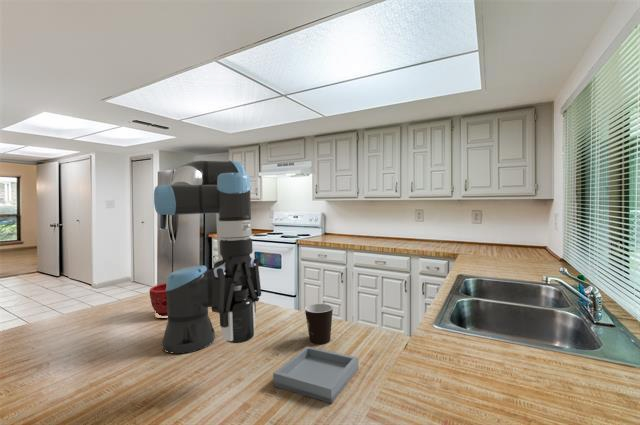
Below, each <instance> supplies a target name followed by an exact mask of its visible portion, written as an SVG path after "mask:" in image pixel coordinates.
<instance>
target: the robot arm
mask: <svg viewBox="0 0 640 425" xmlns="http://www.w3.org/2000/svg"><path fill="white" fill-rule="evenodd" d="M251 190H252V187H251V180H250V175H249V174H247V173H246V171H245V167H244V166H243V164H242V163H241V162H240V161H235V160H234V161H233V160H228V161H226V160H225V161H223V160H195V161H191V162H187V163H185V164H183V165H181V166H179V167H178V168H177V169H176V170H175V171H174V172H173V175H172V182H171V184H167V183H166V184H163V185H156V186H155V187H154V191H153V204H154V205H153V206H154V209H155V211H156V214H158V215H160V216H161V215H162V216H163V215H164V216H165V215H166V216H177V215H197V214H199V215H200V214H202V215H203V214H215V220H216V238H217V239H216V240H217V241H216V242H217V260H216V261H215V262H214V263H213V267H212V268H211V269H208V267H207V266H206V265H203V264H201V265H194V266H188V267H183V268H181V269H177V270H174V271H173V272H171V273H169V274H168V275H167V277H166V291H167V314H168V319H167V323H166V327H165V331H164V334H163V337H162V341H161V347H163V349H164V350H166V351H168V352H173V353H182V354H184V353H183V352H189V353H191V352H190V351H193V352H195V351H194V350H197V349H200V348H202V347H205V346H207V345H209V344H210V343H211V344H213V343H214V342H213V341H215V340H216V332H215V329H214V326H213V324H212V322H211V319H210V316H209V308H211V312H213V313H218V314H219V325H220V327H221V333H222V334H221V339H222V340H225V341H226V340H228V341H233V315H232V312H230V306H231V301H232V296H233V291H234V287H235V286H247V287H248V292H249V295H248V297H249V298H251V299H252V301H253V316H254V329H256V311H257V310H256V308H257V306H256V303H257V302H259V300H260V297H261V296H262V288H261V287H262V286H261V279H260V270H259V266H260V265H259V264H260V259H259V258H253V257H251V254H253V252H254V250H253V239H252V238H251V236H253V235H252V210H251V204H252V203H251ZM224 306H225V307H224ZM214 339H215V340H214ZM212 342H213V343H212ZM211 344H210V345H211ZM210 345H209V346H210ZM207 347H208V346H207ZM205 348H206V347H205ZM163 349H162V350H163ZM200 350H201V349H200ZM197 351H198V350H197Z"/></svg>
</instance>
